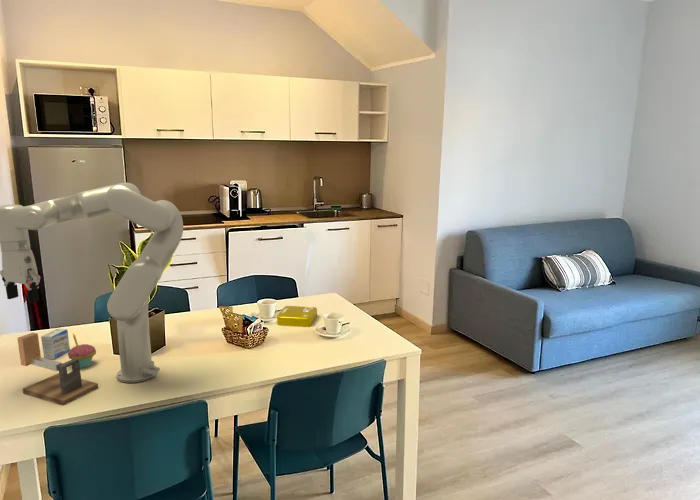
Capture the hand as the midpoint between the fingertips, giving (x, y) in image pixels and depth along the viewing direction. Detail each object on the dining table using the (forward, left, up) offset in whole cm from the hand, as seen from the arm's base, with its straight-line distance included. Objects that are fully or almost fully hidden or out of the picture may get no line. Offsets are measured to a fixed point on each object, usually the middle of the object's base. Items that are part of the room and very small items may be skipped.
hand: (23, 299), depth 159 cm
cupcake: (-2, -16, -28) cm, 32 cm away
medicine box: (+14, -18, -28) cm, 36 cm away
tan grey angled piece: (-6, 0, -21) cm, 22 cm away
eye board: (-12, 0, -28) cm, 30 cm away
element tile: (-47, -86, -29) cm, 102 cm away
